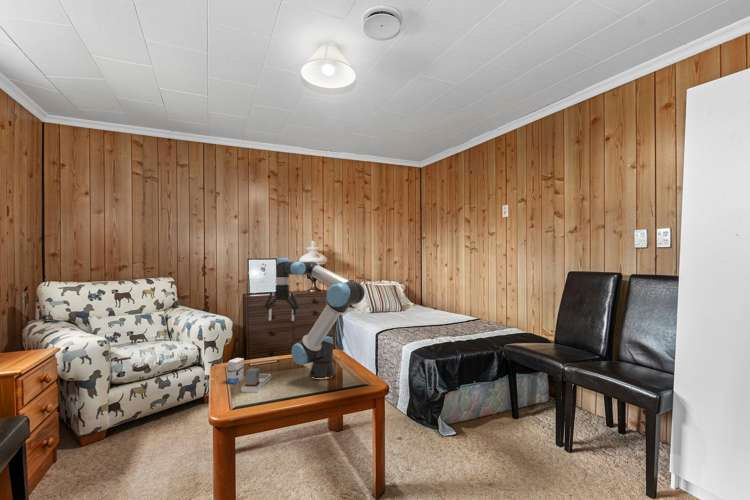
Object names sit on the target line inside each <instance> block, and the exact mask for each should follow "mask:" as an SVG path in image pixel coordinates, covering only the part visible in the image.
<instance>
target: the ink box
mask: <svg viewBox="0 0 750 500" xmlns="http://www.w3.org/2000/svg"><path fill="white" fill-rule="evenodd" d="M244 367H245V358H241V357H235V358H233V359H230V360H228V362H227V381H226V382H227V384H230V385H231V384H232V385H235V384H237V383H240V382H241V381H242V380H243V381H244V375H245V374H244V370H245V368H244Z"/></svg>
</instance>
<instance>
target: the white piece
mask: <svg viewBox="0 0 750 500" xmlns="http://www.w3.org/2000/svg"><path fill="white" fill-rule="evenodd" d="M271 379H272V373H259V384H258V385H257V386H246V382H245V383H243V384H242V386H241V387H240V392H241V393H258V392H260V390H261V389H262V388H263V387H264V386H265V385H266V384H267V383H268V382H269V381H270V380H271Z"/></svg>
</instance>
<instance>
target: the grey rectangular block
mask: <svg viewBox="0 0 750 500" xmlns="http://www.w3.org/2000/svg"><path fill="white" fill-rule="evenodd" d="M259 374H260V368H257V367H256V368H255V367H250V368H248V369H247V370H246V372H245V376H246V377H245V383H246V386H257V385H258V384H259Z"/></svg>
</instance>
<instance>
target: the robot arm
mask: <svg viewBox="0 0 750 500" xmlns="http://www.w3.org/2000/svg"><path fill="white" fill-rule="evenodd" d="M293 275H294V276H301V275H304V276H305V275H306V276H307V275H309V276H311V277H312V278H315V279H317V280H319V281H320V282H323V283H324V284H326V285H329V286H330V287H329V288H328V289H327V291H326V301H325V302H326V304H325V307H324V309H323V310H322V311H321V314H320V315H319V316H318V318H317V319H316V321H315V323H314V324H313V326H312V327H311V329H310V330H309V333H307V334H305V335H304V336H302V338H301V340H300V341H299V342H297V343H295V344H293V345H292V347H291V356H292V359H293V361H294V362H295V363H296V364H297V365H300V366H302V365H307V364H310V363H312V364H311V367H310V370H309V372H308V376H310V377H314V378H325V377H331V376H333V375H335V376H336V374H335V373H336V369H335V366H334V361H333V359H334V339H333V337H331V336H329V335H328V333H329V332H330V330H331V329H332V327H333V325H334V324H335V323H336V321H337V320H338V318H339V317H340V315H341V314H344V313H346V311H347V310H348V308H349V307H350V306H351V305H357V304H359V303H361V302H362V301H363V300H364V298H365V294H366V293H365V291H366V290H365V288H364V286H363V285H362V284H361V283H360V282H358V281H356V280H354V279H351V278H350V279H347V278H345V277H344V276H342V275H339V274H337V273H335V272H332V271H331V270H329V269H326V268H324V267H322V266H321V265H320V263H319V262H315V261H290V258H288V257H287V258H286V257H285V258H284V257H283V258H282V257H280V258H279V257H278V258H276V264H275V292H273V291H271V292H269V297H268V298H267V300H266V302H265V305H264V308H265V309H267V310H266V311H267V312H266V314H267V315H268V321H272V315H273V314H272V312H273V310H272V307H273V306H274V305H275V304H276V303H277V301H286V302H287V304H289V306H290V307H291V308H292V309H291V321H292V322H295V316H296V315H297V310H298V309H299V308H300V305H299V303H298V301H297V299H296V297H295V292H289V291H290V290H289V289H290V285H289V284H290V276H293ZM274 296H275V298H274V299H273V297H274ZM289 297H291V299H290V298H289ZM272 299H273V301H272ZM291 300H292V301H291ZM310 377H309V378H310Z"/></svg>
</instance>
